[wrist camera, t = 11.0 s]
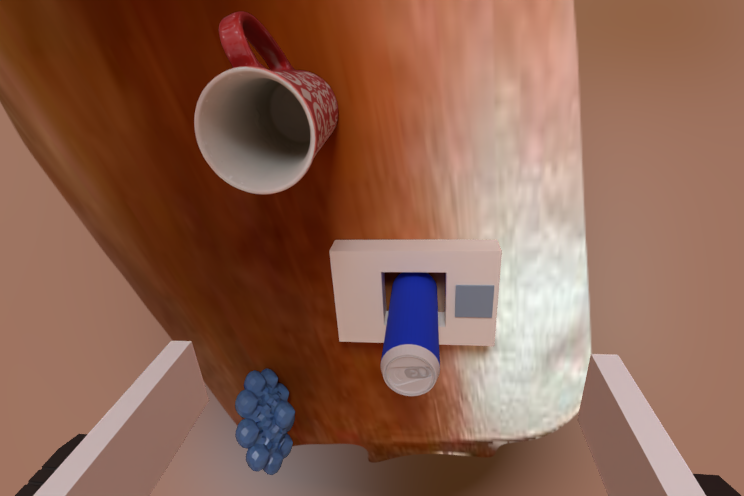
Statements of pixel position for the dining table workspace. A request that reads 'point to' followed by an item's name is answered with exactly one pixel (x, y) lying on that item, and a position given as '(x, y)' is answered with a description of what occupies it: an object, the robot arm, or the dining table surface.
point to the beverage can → (412, 335)
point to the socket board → (454, 257)
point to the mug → (261, 113)
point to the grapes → (264, 421)
